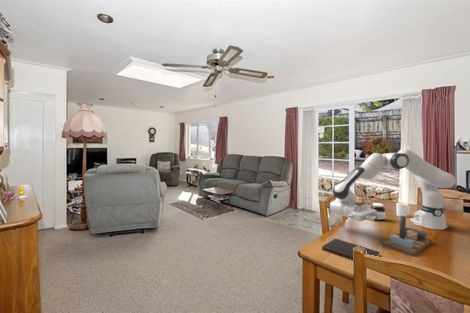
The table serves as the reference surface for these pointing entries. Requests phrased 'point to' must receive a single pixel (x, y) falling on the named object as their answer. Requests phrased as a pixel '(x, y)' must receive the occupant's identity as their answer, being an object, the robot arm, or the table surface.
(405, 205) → the white cup
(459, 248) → the table surface
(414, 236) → the nut
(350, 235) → the table surface
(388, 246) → the press board
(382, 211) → the spread jar
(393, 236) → the jaw carriage
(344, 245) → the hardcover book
